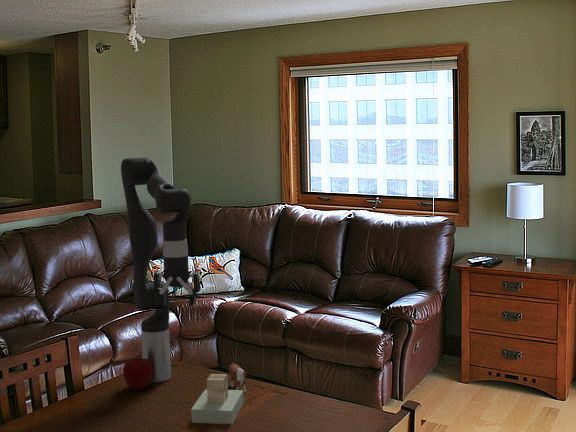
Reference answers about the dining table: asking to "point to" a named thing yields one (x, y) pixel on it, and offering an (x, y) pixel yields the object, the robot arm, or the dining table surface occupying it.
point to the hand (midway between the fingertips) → (177, 305)
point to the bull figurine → (237, 376)
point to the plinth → (217, 409)
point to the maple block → (217, 388)
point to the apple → (138, 373)
